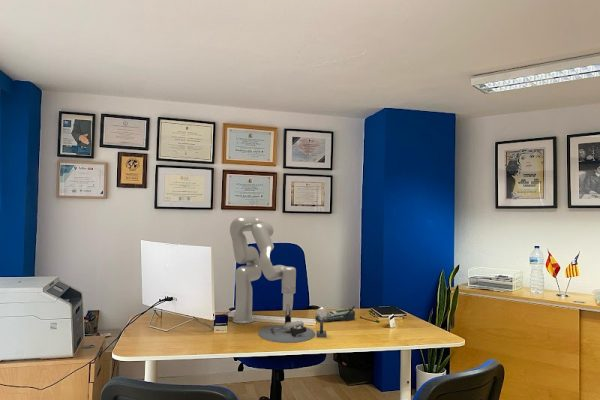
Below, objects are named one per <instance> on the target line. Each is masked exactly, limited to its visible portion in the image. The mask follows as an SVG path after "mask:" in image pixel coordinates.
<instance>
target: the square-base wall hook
mask: <svg viewBox="0 0 600 400" xmlns="http://www.w3.org/2000/svg"><path fill="white" fill-rule="evenodd" d="M315 313H316V314H315V316H317V317H318V318H319V319H320V322H319V330H316V331H315V336H316V338H318V339H319V338H324V339H325V338H327V335H328V334H327V330H324V322H323V320H324V319H326V318H327V316H328V313H329V312H328V310H327V309H326V308H325V307H318V308H317V310H316V312H315Z"/></svg>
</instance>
